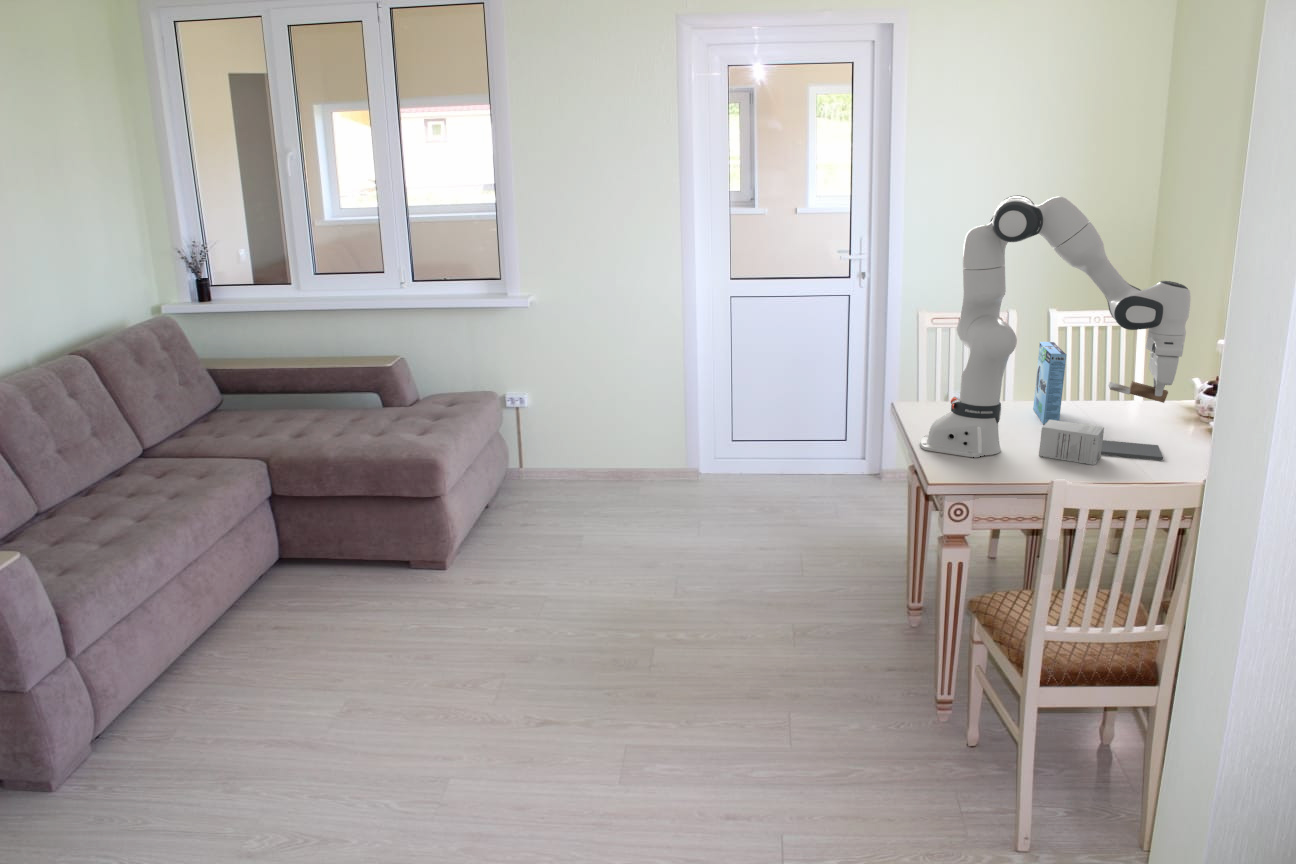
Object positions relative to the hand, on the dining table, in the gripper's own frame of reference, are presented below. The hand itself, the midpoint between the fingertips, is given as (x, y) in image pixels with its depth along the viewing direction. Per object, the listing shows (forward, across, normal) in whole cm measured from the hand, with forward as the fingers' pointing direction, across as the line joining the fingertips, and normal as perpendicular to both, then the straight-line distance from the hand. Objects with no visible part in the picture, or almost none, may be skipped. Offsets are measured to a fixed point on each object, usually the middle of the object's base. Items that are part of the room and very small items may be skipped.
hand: (1157, 394), depth 266 cm
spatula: (+1, 0, -5) cm, 5 cm away
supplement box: (+16, -1, -12) cm, 20 cm away
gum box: (+21, -45, -25) cm, 56 cm away
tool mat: (+21, -14, -5) cm, 25 cm away
